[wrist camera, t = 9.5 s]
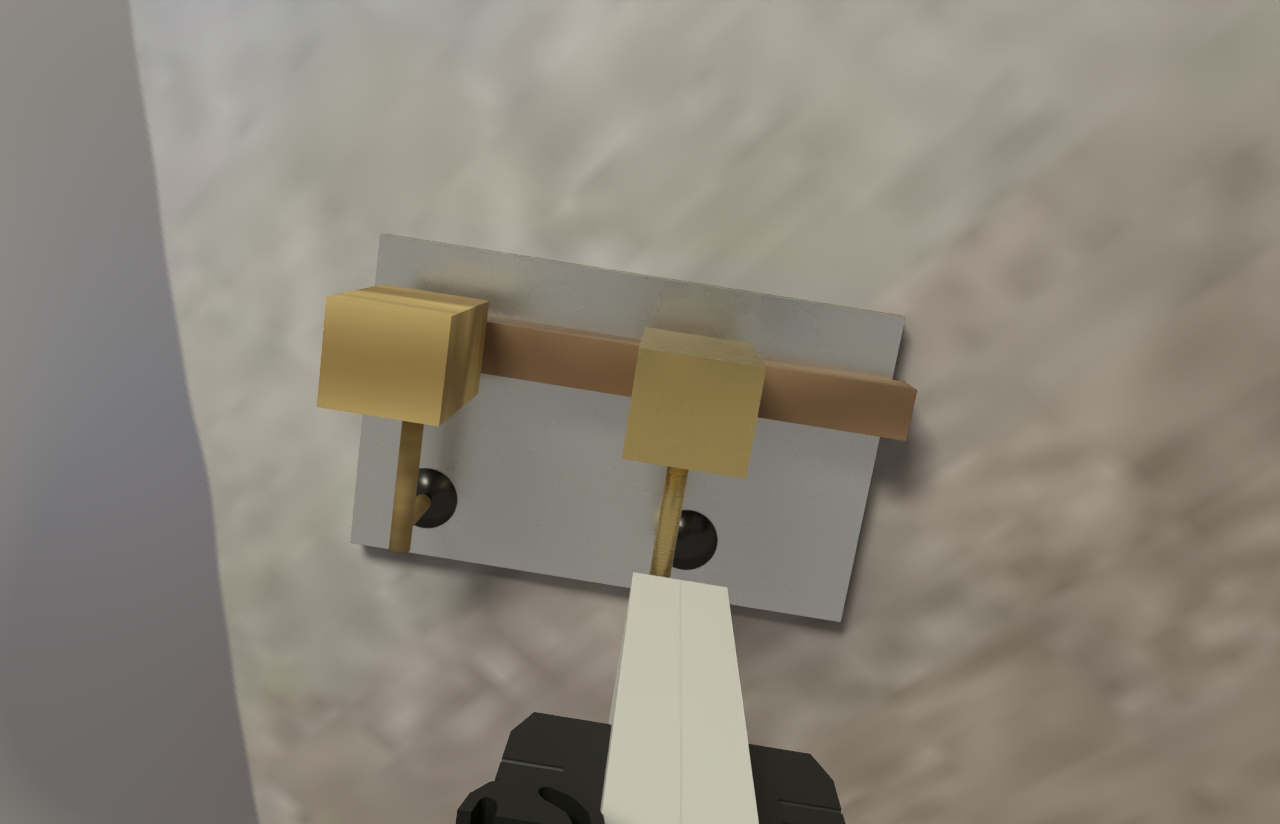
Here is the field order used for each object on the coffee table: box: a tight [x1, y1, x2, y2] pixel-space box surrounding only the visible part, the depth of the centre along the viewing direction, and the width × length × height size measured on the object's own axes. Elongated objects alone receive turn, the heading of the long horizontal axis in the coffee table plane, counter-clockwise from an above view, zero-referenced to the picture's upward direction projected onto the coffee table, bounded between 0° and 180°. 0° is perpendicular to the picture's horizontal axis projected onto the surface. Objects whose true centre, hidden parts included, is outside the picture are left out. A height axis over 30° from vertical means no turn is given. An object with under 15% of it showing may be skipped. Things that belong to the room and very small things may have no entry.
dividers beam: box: [317, 284, 917, 553], centre depth 34 cm, size 10×21×8 cm, turn 81°
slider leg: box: [622, 327, 766, 578], centre depth 34 cm, size 10×4×8 cm, turn 171°
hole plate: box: [350, 234, 905, 622], centre depth 39 cm, size 13×21×1 cm, turn 81°
